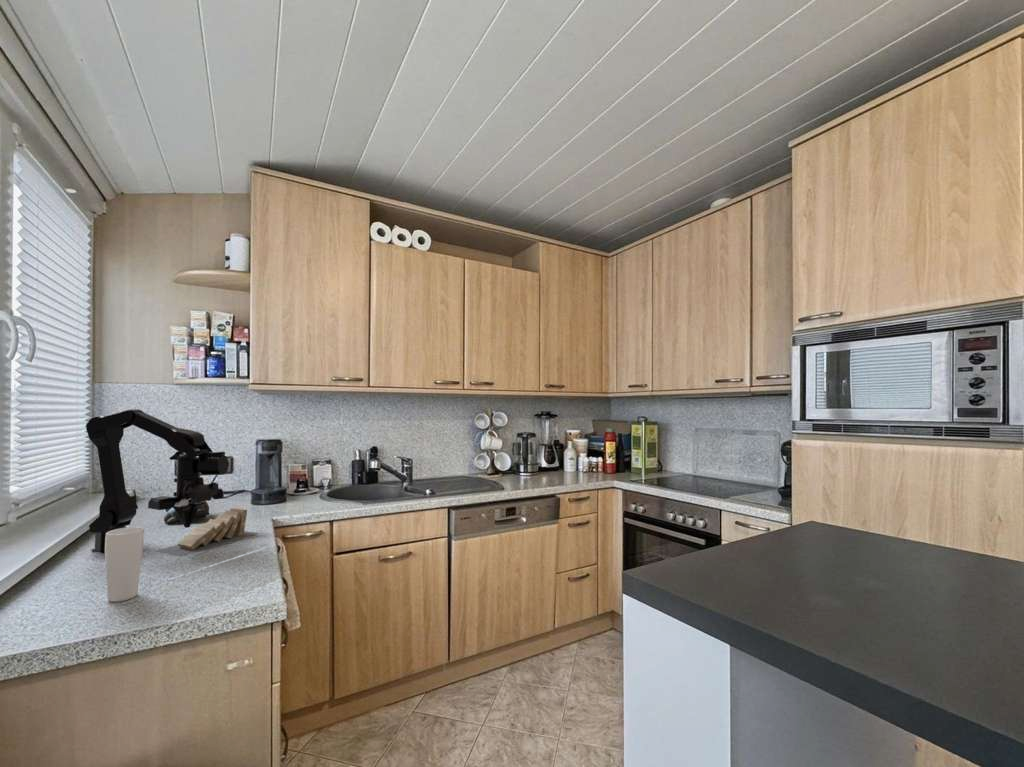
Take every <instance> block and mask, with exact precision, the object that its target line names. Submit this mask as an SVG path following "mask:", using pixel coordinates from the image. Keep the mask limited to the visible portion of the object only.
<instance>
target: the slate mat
mask: <svg viewBox="0 0 1024 767" xmlns="http://www.w3.org/2000/svg"><path fill="white" fill-rule="evenodd" d="M259 534H260V533H259V532H252V531H246V530H244V535H241V536H238V535H233V537H232V539H231V538H226V537H222V539H221V540H220V542H216V541H210V542H209V543H208V544H207V545H206V546H203V545H199V546H198V547H197V548H195V549H194V550H189V549H184V548H180V547H179V545H178V544H174V545H171V546H167V547H163V548H160V549H157V550H154V552H155V553H156V552H157V553H162V554H167V555H171V556H175V557H179V558H180V557H183V556H188V555H191V554H194V553H198V552H201V551H204V550H208V549H211V548H215V547H218V546H219V547H220V546H222V545H225V544H228V543H229V544H230V543H232V542H236V541H238V540H242V539H246V538H250V537H254V536H256V535H259Z"/></svg>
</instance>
